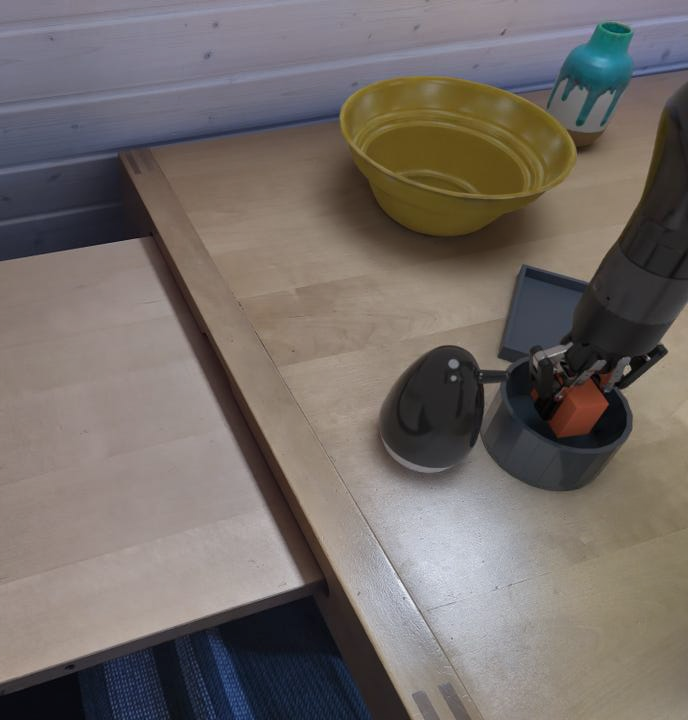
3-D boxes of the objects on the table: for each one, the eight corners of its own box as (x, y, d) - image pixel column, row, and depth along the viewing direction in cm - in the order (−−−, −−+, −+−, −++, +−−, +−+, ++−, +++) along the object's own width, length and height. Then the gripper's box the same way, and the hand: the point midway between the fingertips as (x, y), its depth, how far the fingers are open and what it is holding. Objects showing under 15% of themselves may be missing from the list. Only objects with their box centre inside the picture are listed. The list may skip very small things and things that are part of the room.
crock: (565, 388, 85) (590, 348, 79) (627, 483, 76) (659, 445, 71) (461, 400, 83) (479, 360, 78) (512, 499, 74) (537, 461, 69)
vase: (525, 142, 122) (570, 28, 108) (546, 117, 128) (592, 7, 114) (587, 164, 118) (642, 49, 104) (606, 137, 124) (661, 25, 109)
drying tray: (517, 274, 98) (522, 263, 97) (618, 303, 95) (625, 292, 93) (497, 357, 88) (503, 346, 86) (610, 393, 84) (618, 382, 83)
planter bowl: (491, 147, 120) (519, 70, 110) (579, 272, 99) (624, 190, 89) (305, 155, 117) (316, 76, 107) (355, 285, 96) (375, 202, 86)
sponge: (559, 390, 78) (578, 359, 74) (588, 434, 74) (609, 404, 70) (530, 394, 78) (547, 363, 74) (557, 438, 74) (577, 408, 70)
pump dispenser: (463, 499, 74) (513, 409, 63) (364, 472, 76) (395, 379, 65) (470, 425, 80) (516, 331, 69) (378, 401, 82) (409, 306, 71)
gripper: (585, 330, 59) (514, 449, 72) (735, 313, 61) (639, 432, 74) (542, 271, 64) (482, 392, 77) (682, 257, 66) (601, 378, 79)
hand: (560, 411), depth 76 cm, fingers closed on sponge, 3 cm apart
